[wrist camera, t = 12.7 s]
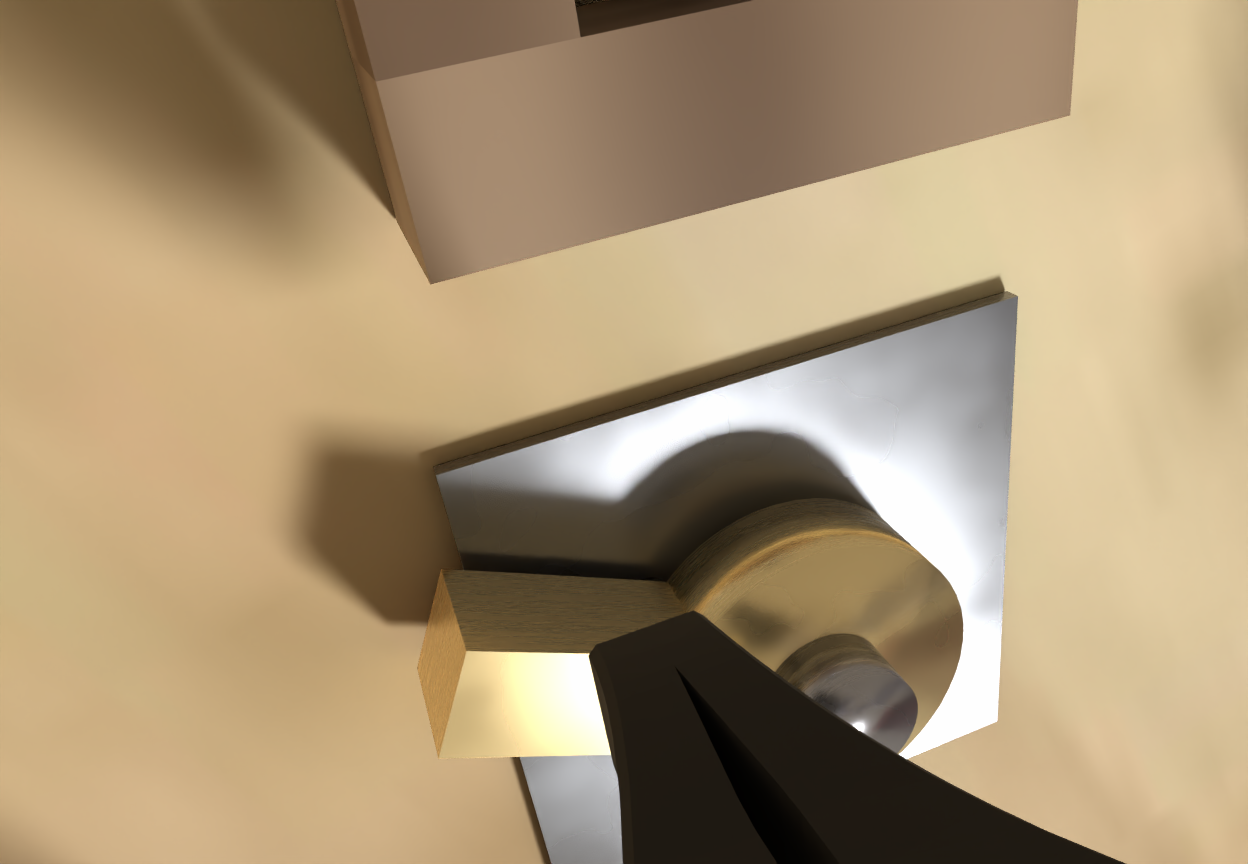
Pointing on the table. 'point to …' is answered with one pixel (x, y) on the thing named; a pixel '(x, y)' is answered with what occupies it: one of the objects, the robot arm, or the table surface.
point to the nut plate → (764, 500)
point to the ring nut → (727, 596)
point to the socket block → (673, 105)
